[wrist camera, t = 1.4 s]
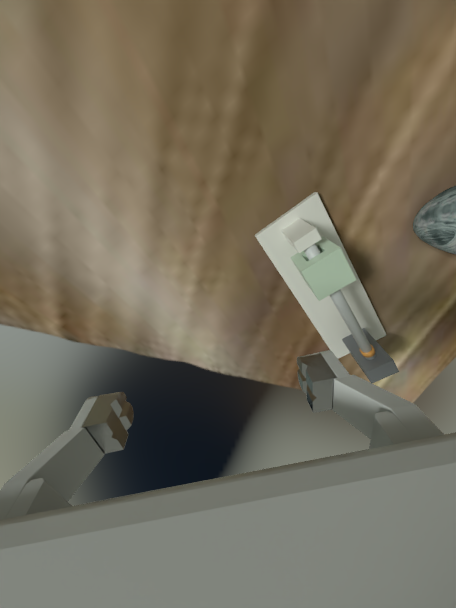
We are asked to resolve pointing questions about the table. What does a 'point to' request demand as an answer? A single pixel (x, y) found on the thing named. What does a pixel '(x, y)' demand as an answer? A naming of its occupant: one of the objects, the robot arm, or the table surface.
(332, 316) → the stand
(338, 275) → the sleeve
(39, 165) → the table surface
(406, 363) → the table surface
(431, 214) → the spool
